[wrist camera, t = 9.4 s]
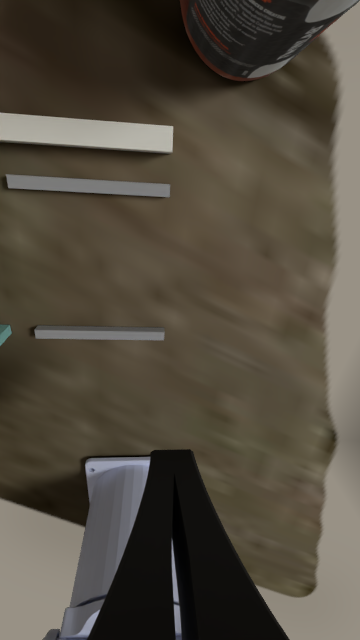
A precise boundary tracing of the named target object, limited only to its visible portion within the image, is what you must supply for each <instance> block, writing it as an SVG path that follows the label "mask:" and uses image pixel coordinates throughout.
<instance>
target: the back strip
mask: <svg viewBox="0 0 360 640" xmlns="http://www.w3.org/2000/svg"><path fill="white" fill-rule="evenodd" d="M0 142H9V143H23V144H37V145H52V146H66V147H80V148H94V149H108V150H122V151H137V152H151V153H165V154H171V153H172V145H173V126H162V125H149V124H136V123H123V122H111V121H98V120H85V119H73V118H60V117H47V116H35V115H22V114H9V113H0Z"/></svg>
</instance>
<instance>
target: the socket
mask: <svg viewBox="0 0 360 640" xmlns="http://www.w3.org/2000/svg"><path fill="white" fill-rule="evenodd" d="M11 334H12V332H11V328H10V325H0V346H1V345H2V343H3V342H4V341H5V340H6V339H7V338H8V337H9V336H10V335H11Z"/></svg>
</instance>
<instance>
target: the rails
mask: <svg viewBox="0 0 360 640" xmlns="http://www.w3.org/2000/svg"><path fill="white" fill-rule="evenodd" d="M6 177H7V183H8V188H17V189H35V190H52V191H69V192H87V193H104V194H122V195H139V196H157V197H170V184H159V183H142V182H126V181H110V180H93V179H77V178H61V177H44V176H28V175H12V174H9V175H6ZM34 331H35V336H36V338H41V339H112V340H164V328H151V327H95V326H39V325H38V326H37V327H36V329H35V330H34Z"/></svg>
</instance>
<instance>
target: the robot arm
mask: <svg viewBox="0 0 360 640" xmlns="http://www.w3.org/2000/svg"><path fill="white" fill-rule="evenodd" d="M85 469H86V477H87V485H88V493H89V501H90V507H89V512H88V517H87V522H86V527H85V532H84V538H83V543H82V547H81V553H80V557H79V562H78V567H77V572H76V577H75V582H74V587H73V592H72V597H71V602H70V607H68V608H66V609H65V612H64V617H63V622H62V627H61V632H60V629H51V630H50V631H49V632H48V633H47V635H46V636H45V638H43V640H289V638H288V637H287V635H286V634H285V632H284V630H283V629H282V628H281V626H280V625H279V623H278V622H277V620H276V618H275V617H274V615H273V614H272V612H271V611H270V609H269V608H268V606H267V604H266V602H265V601H264V599H263V598H262V596H261V594H260V593H259V591H258V589H257V588H256V586H255V584H254V583H253V581H252V579H251V578H250V576H249V574H248V572H247V571H246V569H245V567H244V565H243V564H242V562H241V560H240V558H239V556H238V554H237V553H236V551H235V549H234V547H233V545H232V543H231V541H230V539H229V537H228V535H227V534H226V532H225V529H224V527H223V525H222V523H221V521H220V519H219V517H218V515H217V513H216V511H215V508H214V506H213V504H212V502H211V500H210V497H209V495H208V493H207V490H206V488H205V485H204V483H203V480H202V478H201V475H200V472H199V470H198V467H197V464H196V461H195V457H194V454H193V451H191V450H190V449H189V450H154V451H152V452H151V455H150V457H119V458H89V459H87V460H86V463H85Z"/></svg>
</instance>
